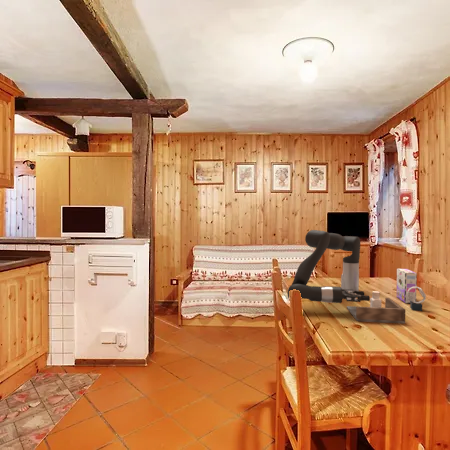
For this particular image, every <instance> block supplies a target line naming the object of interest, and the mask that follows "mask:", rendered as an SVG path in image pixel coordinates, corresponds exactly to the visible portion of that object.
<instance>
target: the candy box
mask: <svg viewBox="0 0 450 450" xmlns="http://www.w3.org/2000/svg"><path fill="white" fill-rule="evenodd" d="M417 276H418V273H417V272H415V271H413V270H410V269H409V268H396V298H397V299H399V300H400V301H401V302H402V303H404V304H410V301H411V300H410V299H409V297H408V295H407V291H408V289H409V288H411V287H414V286H416V287H418V285H417V284H418V283H417V282H418V280H417V279H418V277H417ZM409 295H410V297H411V299H412V301H415V302H417V288H413V289H411V290H410V291H409Z"/></svg>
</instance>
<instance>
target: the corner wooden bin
mask: <svg viewBox="0 0 450 450" xmlns="http://www.w3.org/2000/svg"><path fill="white" fill-rule="evenodd" d="M346 309H347V311H348V312H349V313H350V314H351V315H352V316H353V318H354V319H355V320H356V322H368V323H369V322H370V323H388V324H406V309H405V308H404V307H403V306H402V305H400V304H398V303H397V302H395V301H394V300H392V299H391V298H390V297H385V303H384V307H381V308H380V307H370V306H356V305H354V306H353V305H352V306H351V305H350V306H349V305H346Z"/></svg>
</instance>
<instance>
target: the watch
mask: <svg viewBox="0 0 450 450" xmlns="http://www.w3.org/2000/svg"><path fill="white" fill-rule="evenodd" d="M413 288H416V289H417V290H418V291H419V294H420V295H421V297H422V298H423V299H422V300H420V301H416V302H415V301H412V299H411V297H410V295H409V291H410V290H411V289H413ZM407 295H408V297H409V299H410V300H411V301H410V303H409V307H410V309H411V311H417V312H419V311H420V312H423V304H422V303H424V302H425V300H426V297H427V295H426V293H425V292H424V290H423V288H422V287H419V286H417V287H416V286H414V287H411V288H409V289H408V291H407Z"/></svg>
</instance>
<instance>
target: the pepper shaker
mask: <svg viewBox="0 0 450 450" xmlns="http://www.w3.org/2000/svg"><path fill="white" fill-rule="evenodd" d="M371 293H372V294H371V296H372V297H370V300H369V301H370V304H369V305H370V306H369V307H380V308H382V299H381V298H380V295H381V292H380V291H378V290H373V291H372V292H371Z"/></svg>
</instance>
